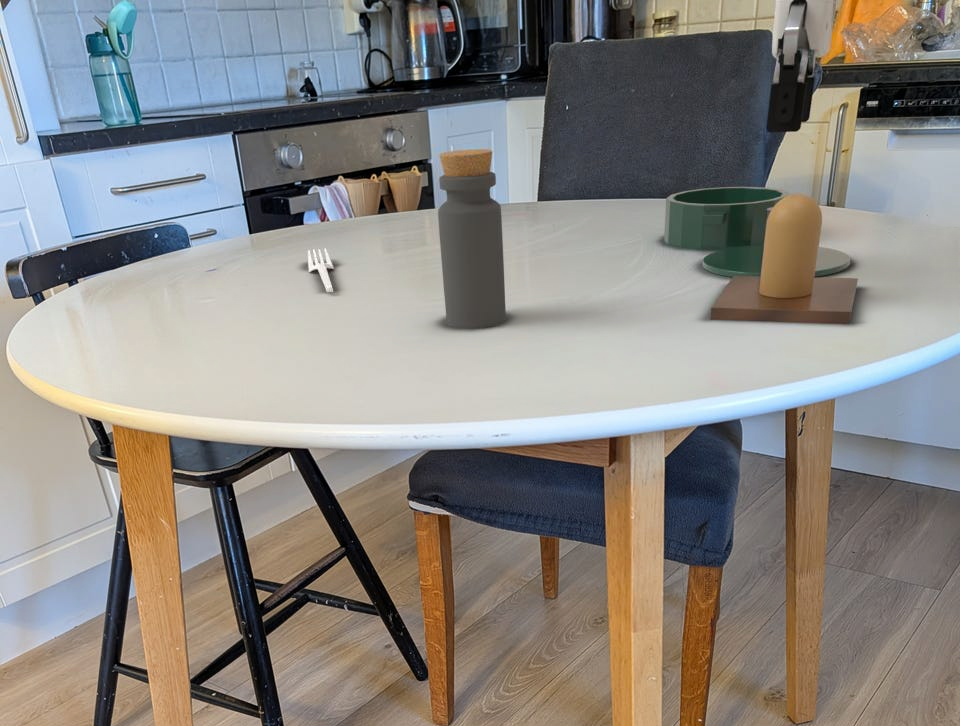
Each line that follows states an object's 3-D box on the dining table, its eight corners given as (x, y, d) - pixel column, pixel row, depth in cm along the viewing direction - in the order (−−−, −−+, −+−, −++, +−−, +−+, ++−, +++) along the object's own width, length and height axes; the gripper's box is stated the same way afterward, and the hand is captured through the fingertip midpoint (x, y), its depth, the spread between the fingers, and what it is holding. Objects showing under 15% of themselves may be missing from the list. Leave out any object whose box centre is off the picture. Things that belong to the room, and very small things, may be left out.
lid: (852, 255, 101) (861, 196, 97) (844, 287, 89) (854, 221, 85) (714, 254, 106) (719, 198, 103) (690, 284, 94) (694, 221, 91)
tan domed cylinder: (814, 287, 84) (827, 189, 79) (809, 299, 80) (823, 197, 75) (762, 285, 85) (773, 190, 81) (755, 297, 82) (766, 198, 77)
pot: (790, 228, 117) (796, 182, 114) (772, 260, 101) (778, 208, 98) (681, 228, 122) (684, 184, 119) (648, 258, 106) (650, 209, 103)
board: (855, 294, 86) (858, 278, 86) (848, 329, 77) (851, 311, 76) (731, 291, 91) (733, 275, 90) (709, 324, 81) (711, 307, 80)
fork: (316, 297, 101) (314, 280, 99) (307, 265, 117) (304, 250, 116) (344, 294, 101) (342, 276, 100) (331, 262, 117) (329, 247, 116)
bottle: (514, 318, 87) (507, 147, 79) (494, 334, 82) (484, 154, 74) (460, 316, 89) (448, 149, 81) (437, 332, 84) (422, 156, 76)
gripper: (855, -104, 72) (820, 134, 82) (863, -86, 85) (832, 117, 95) (761, -94, 74) (738, 136, 84) (783, -78, 87) (761, 119, 97)
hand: (788, 126), depth 89 cm, fingers open, 9 cm apart
